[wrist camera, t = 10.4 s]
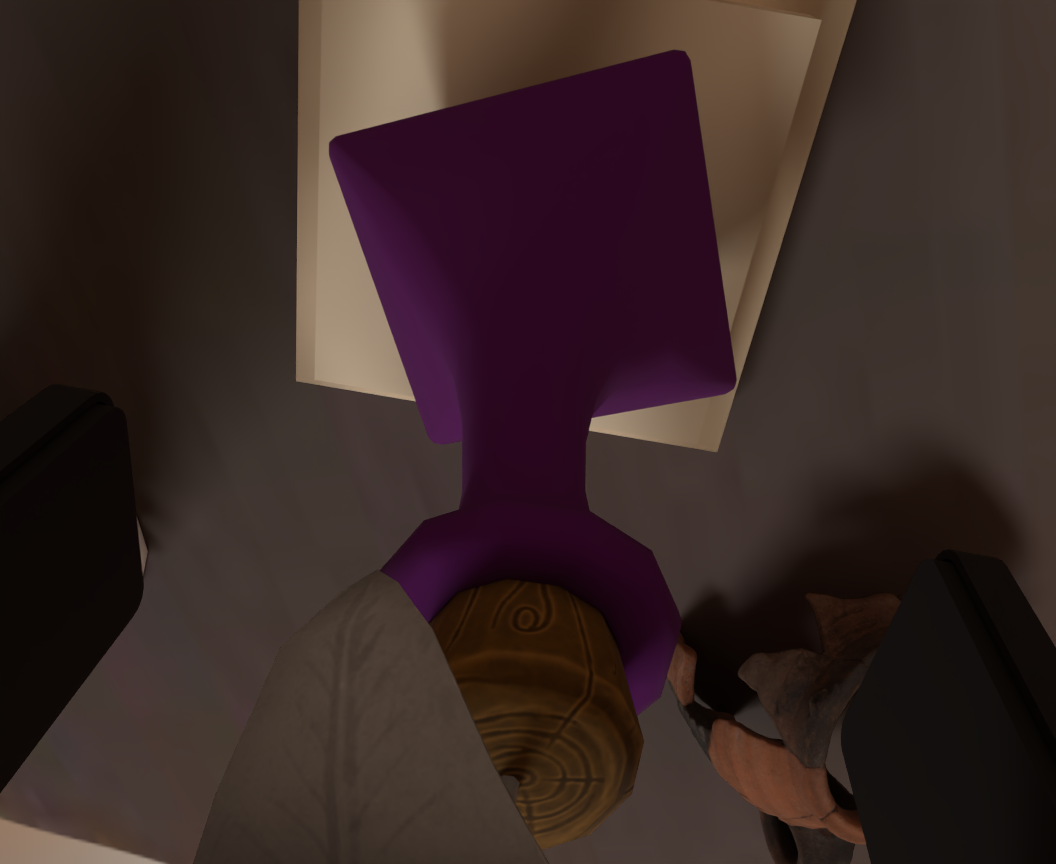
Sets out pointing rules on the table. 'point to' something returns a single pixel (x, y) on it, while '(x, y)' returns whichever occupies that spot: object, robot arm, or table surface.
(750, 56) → the plinth
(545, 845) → the perfume bottle
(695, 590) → the table surface
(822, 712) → the pottery mug
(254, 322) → the table surface
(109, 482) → the robot arm
